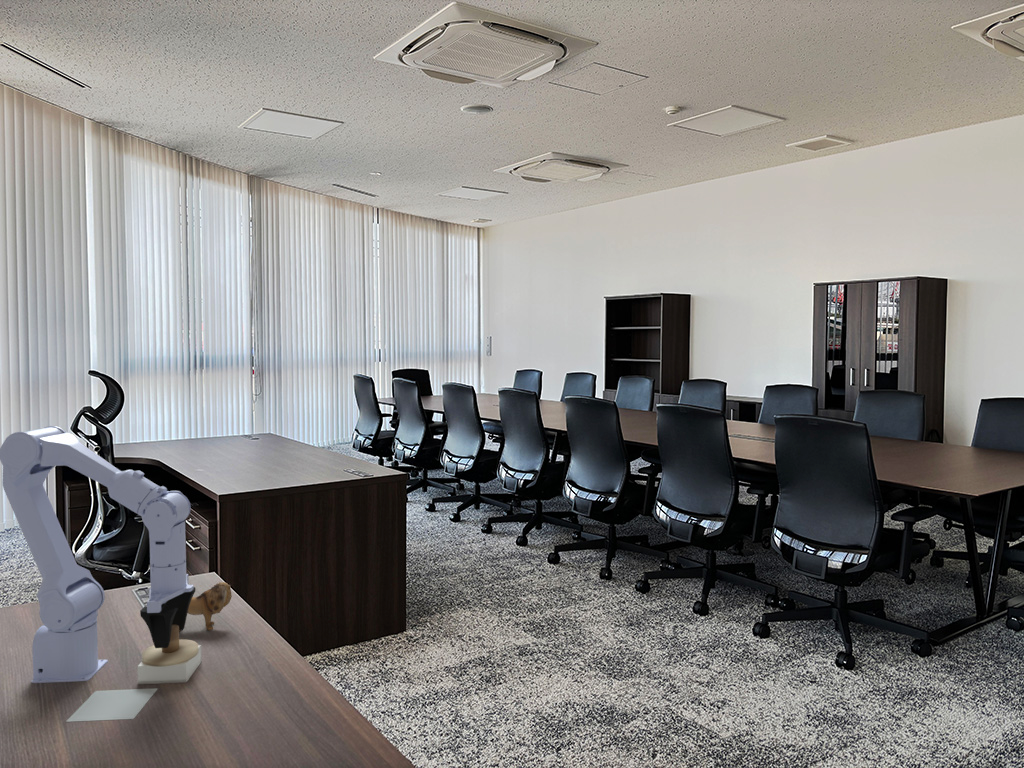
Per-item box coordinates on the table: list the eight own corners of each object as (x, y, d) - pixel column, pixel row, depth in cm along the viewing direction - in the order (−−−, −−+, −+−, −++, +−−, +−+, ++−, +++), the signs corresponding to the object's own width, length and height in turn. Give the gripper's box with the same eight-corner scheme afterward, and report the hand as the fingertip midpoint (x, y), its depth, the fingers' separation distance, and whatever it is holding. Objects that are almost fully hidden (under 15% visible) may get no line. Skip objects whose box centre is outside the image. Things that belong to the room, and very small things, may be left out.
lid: (134, 668, 125) (134, 639, 124) (151, 646, 134) (151, 619, 133) (190, 664, 126) (190, 636, 126) (204, 643, 135) (203, 616, 135)
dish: (137, 686, 126) (137, 666, 126) (155, 665, 134) (155, 646, 133) (186, 684, 127) (186, 664, 126) (201, 663, 134) (200, 645, 134)
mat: (65, 724, 113) (65, 721, 113) (95, 693, 123) (95, 690, 123) (133, 721, 114) (133, 718, 114) (157, 690, 124) (157, 688, 124)
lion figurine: (233, 619, 156) (233, 578, 155) (230, 629, 151) (229, 586, 150) (159, 625, 152) (158, 582, 152) (152, 635, 147) (151, 591, 147)
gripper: (177, 575, 122) (179, 654, 123) (204, 550, 136) (206, 621, 137) (133, 576, 121) (135, 656, 122) (165, 551, 136) (166, 622, 137)
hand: (169, 638), depth 130 cm, fingers open, 7 cm apart
